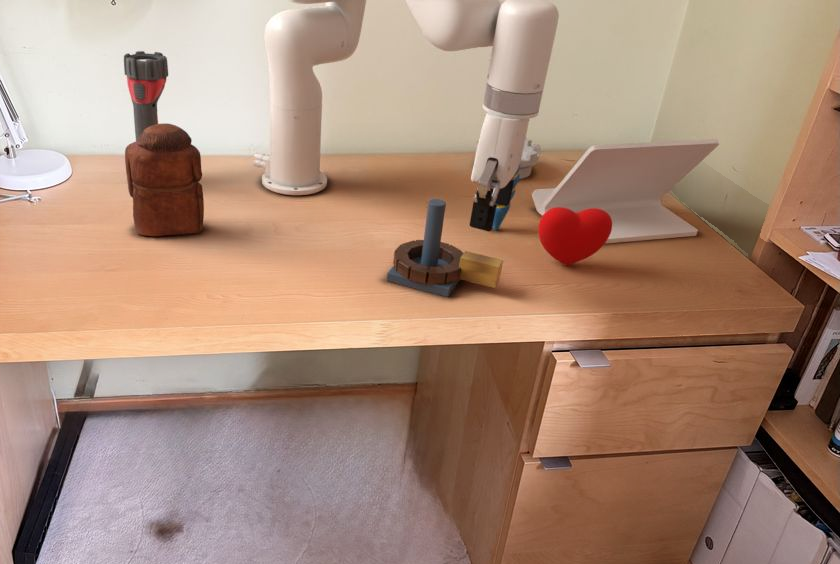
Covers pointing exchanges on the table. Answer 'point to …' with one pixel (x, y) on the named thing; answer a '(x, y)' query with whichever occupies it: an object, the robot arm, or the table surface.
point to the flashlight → (145, 86)
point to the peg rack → (429, 252)
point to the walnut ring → (458, 268)
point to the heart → (574, 233)
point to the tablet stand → (629, 186)
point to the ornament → (502, 209)
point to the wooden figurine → (165, 182)
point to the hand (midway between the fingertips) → (489, 215)
